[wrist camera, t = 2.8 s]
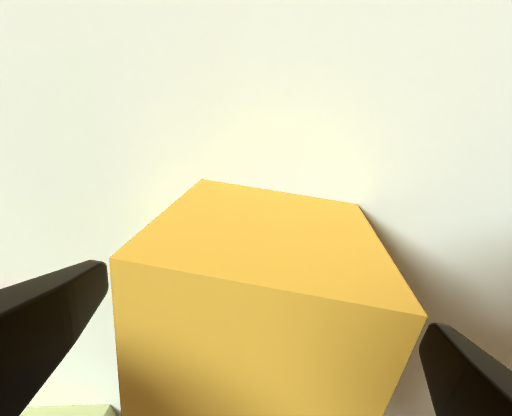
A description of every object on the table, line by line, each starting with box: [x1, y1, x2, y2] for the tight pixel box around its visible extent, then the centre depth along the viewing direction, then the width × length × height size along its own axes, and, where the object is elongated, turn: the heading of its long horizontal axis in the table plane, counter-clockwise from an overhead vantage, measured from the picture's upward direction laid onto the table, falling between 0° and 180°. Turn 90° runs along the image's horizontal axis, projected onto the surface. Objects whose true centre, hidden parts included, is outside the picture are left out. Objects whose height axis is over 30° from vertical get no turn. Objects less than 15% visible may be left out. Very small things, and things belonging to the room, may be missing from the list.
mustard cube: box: [109, 179, 428, 416], centre depth 8 cm, size 5×5×5 cm
